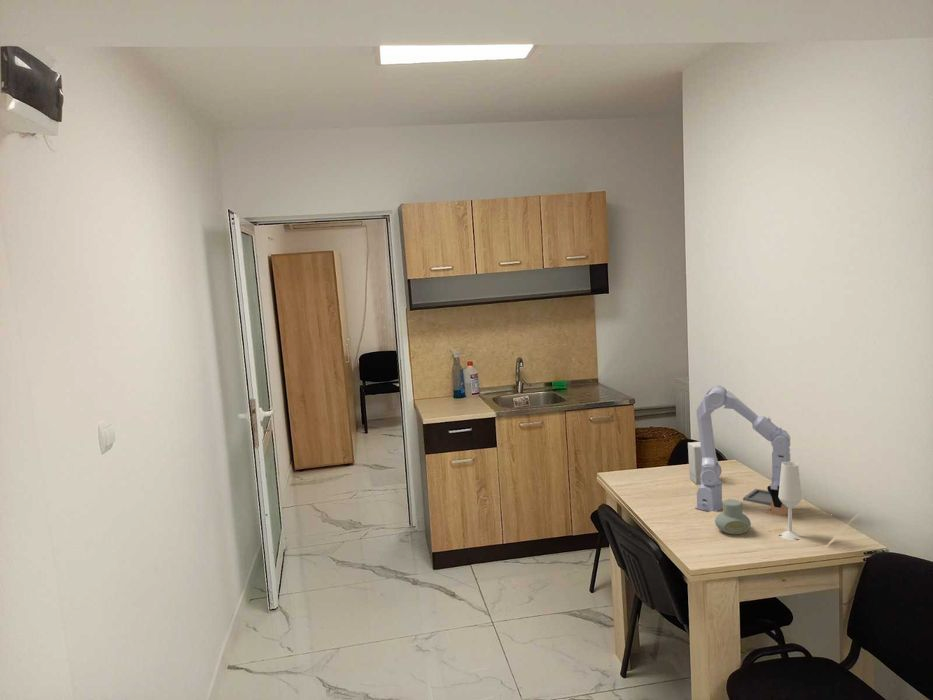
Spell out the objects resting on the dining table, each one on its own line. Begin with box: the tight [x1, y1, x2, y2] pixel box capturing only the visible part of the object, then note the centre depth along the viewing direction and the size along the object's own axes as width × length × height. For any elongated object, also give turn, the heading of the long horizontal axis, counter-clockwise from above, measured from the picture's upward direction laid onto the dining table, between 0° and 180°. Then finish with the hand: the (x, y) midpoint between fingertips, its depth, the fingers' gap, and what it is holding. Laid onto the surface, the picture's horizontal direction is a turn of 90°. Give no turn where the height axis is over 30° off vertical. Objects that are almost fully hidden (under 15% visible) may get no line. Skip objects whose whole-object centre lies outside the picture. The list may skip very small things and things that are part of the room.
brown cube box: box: [770, 499, 788, 516], centre depth 232 cm, size 5×6×5 cm
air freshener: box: [714, 498, 751, 536], centre depth 219 cm, size 11×8×10 cm
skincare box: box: [687, 441, 702, 485], centre depth 269 cm, size 8×7×16 cm
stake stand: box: [765, 508, 798, 519], centre depth 232 cm, size 8×8×4 cm
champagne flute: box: [778, 461, 803, 542], centre depth 211 cm, size 7×7×24 cm
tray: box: [742, 488, 772, 507], centre depth 245 cm, size 12×12×2 cm
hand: (781, 503), depth 231 cm, fingers open, 7 cm apart
